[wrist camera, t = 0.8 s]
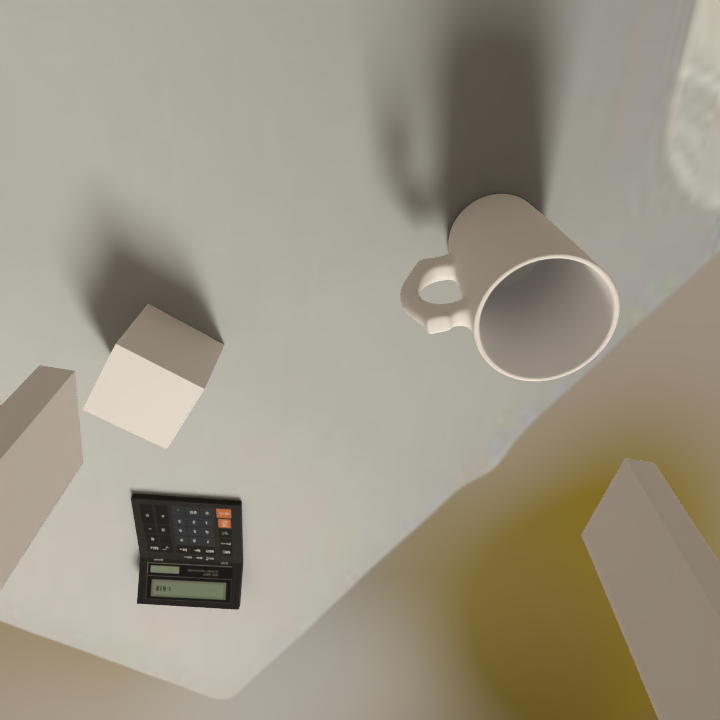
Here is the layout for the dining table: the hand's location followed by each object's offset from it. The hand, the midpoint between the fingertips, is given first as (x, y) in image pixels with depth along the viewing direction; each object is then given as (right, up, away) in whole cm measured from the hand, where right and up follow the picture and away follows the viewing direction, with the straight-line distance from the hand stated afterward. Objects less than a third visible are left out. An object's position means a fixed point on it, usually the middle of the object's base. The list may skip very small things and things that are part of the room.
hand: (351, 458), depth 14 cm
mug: (+7, +10, +24) cm, 27 cm away
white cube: (-14, +3, +28) cm, 31 cm away
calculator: (-15, -14, +38) cm, 44 cm away
